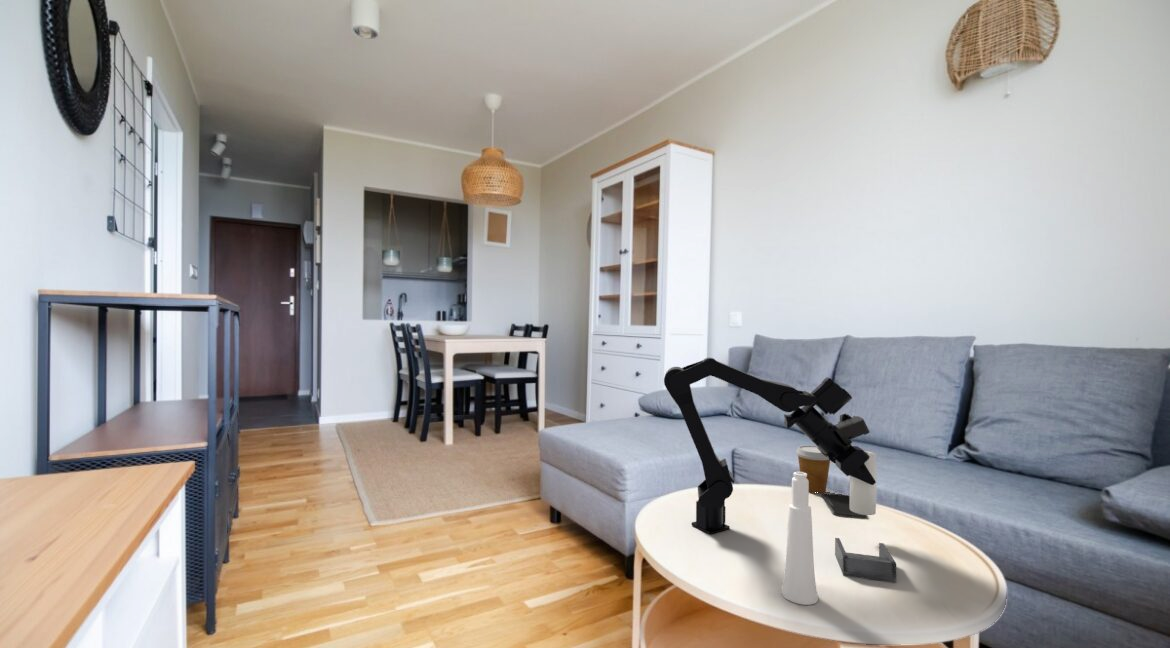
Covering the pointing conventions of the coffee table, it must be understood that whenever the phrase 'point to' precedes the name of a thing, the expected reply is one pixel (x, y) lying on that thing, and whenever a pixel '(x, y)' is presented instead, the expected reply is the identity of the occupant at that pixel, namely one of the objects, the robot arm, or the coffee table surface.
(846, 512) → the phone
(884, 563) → the tray
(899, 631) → the coffee table surface
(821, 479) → the disposable coffee cup
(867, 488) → the paper roll
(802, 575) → the cosmetic bottle
